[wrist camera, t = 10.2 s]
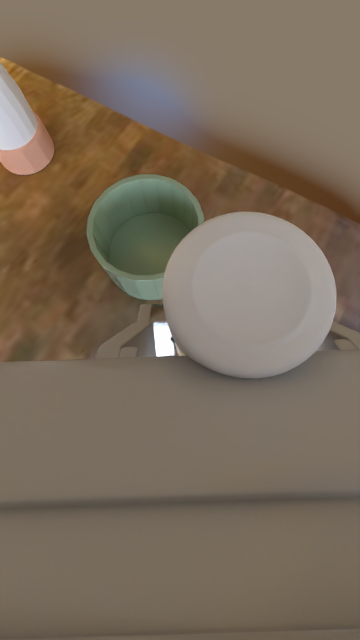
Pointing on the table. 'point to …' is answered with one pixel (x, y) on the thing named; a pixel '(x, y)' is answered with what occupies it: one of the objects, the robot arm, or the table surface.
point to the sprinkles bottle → (248, 295)
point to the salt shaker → (21, 131)
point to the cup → (141, 230)
